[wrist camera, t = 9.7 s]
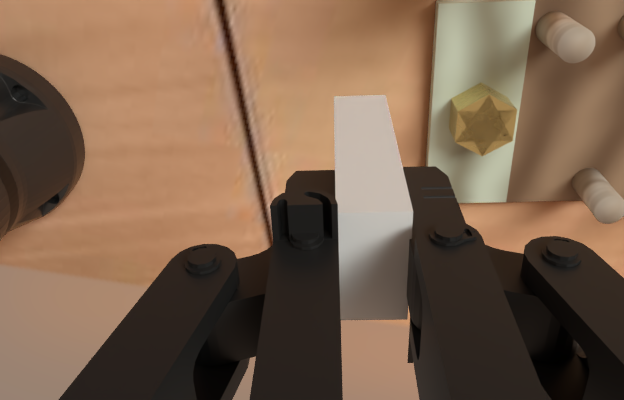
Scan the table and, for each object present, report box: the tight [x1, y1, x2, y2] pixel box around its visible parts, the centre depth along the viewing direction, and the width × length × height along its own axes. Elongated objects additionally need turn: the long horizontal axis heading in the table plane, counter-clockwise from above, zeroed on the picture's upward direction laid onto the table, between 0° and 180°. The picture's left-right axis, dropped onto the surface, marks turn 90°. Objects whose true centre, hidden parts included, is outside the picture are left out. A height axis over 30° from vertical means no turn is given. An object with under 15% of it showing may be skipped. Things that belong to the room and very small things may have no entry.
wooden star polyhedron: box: [449, 82, 517, 156], centre depth 45 cm, size 4×5×3 cm
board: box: [425, 0, 624, 224], centre depth 45 cm, size 23×17×6 cm
